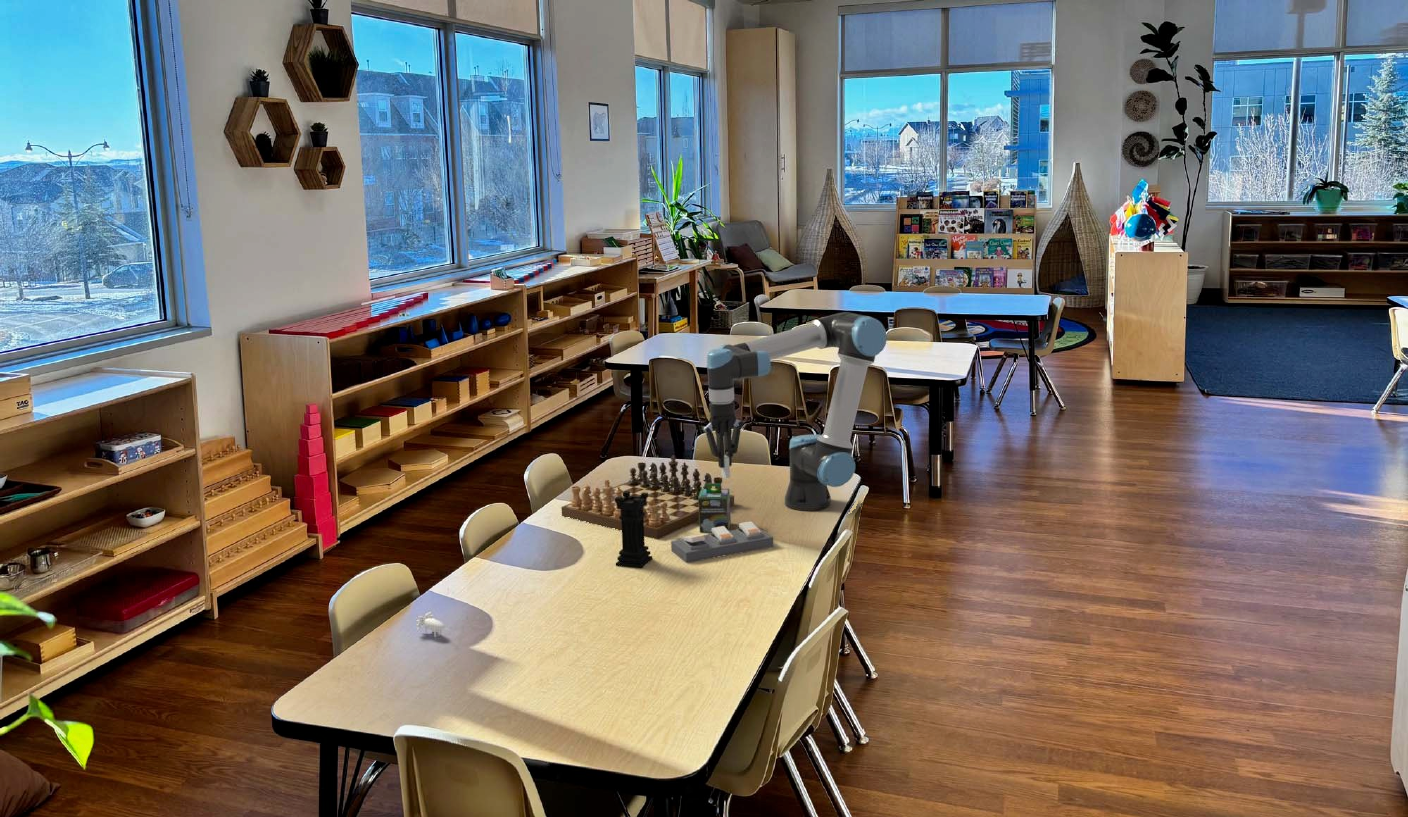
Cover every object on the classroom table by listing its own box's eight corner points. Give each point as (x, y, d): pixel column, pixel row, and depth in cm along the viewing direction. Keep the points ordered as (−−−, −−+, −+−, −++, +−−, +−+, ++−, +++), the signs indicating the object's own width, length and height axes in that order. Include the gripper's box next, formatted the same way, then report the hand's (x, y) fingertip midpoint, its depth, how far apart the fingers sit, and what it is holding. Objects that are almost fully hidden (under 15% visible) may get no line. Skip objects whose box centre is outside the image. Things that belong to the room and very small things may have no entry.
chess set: (657, 540, 337) (655, 494, 334) (562, 517, 361) (559, 473, 357) (734, 506, 368) (733, 463, 364) (641, 486, 392) (640, 446, 388)
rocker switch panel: (756, 535, 338) (756, 523, 337) (773, 546, 328) (773, 534, 327) (671, 550, 327) (670, 538, 326) (686, 562, 317) (686, 550, 316)
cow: (412, 633, 274) (410, 615, 273) (429, 626, 278) (428, 608, 277) (444, 645, 267) (442, 627, 266) (461, 638, 271) (459, 619, 270)
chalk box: (731, 523, 350) (730, 478, 346) (728, 533, 341) (727, 486, 338) (701, 523, 351) (700, 477, 347) (698, 532, 342) (697, 486, 339)
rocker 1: (696, 538, 327) (695, 534, 327) (704, 540, 321) (704, 536, 321) (683, 540, 325) (683, 536, 325) (692, 542, 319) (691, 538, 319)
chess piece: (652, 558, 321) (649, 492, 316) (641, 568, 313) (639, 500, 309) (626, 556, 323) (624, 490, 319) (615, 565, 316) (612, 498, 312)
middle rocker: (723, 528, 330) (723, 525, 329) (732, 539, 325) (733, 536, 324) (711, 531, 328) (711, 527, 328) (720, 541, 323) (720, 538, 323)
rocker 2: (750, 524, 334) (751, 520, 333) (760, 534, 328) (760, 531, 328) (738, 526, 332) (739, 523, 331) (748, 536, 327) (748, 533, 326)
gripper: (735, 395, 337) (738, 470, 342) (696, 402, 331) (701, 478, 337) (747, 400, 330) (750, 476, 336) (708, 407, 325) (712, 484, 330)
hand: (725, 477), depth 336 cm, fingers closed
